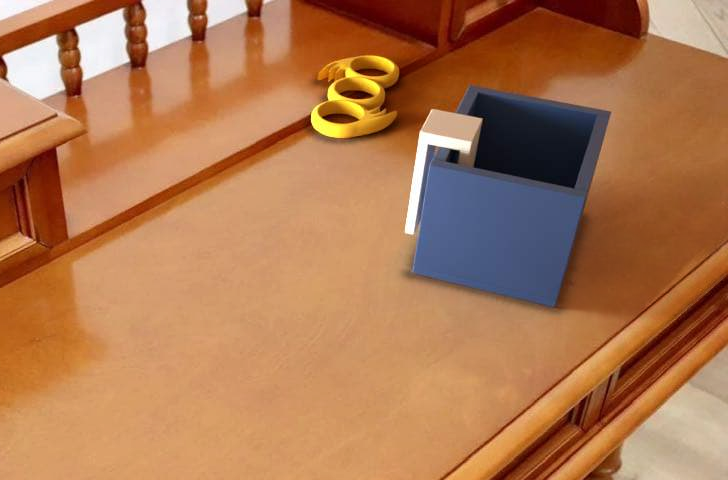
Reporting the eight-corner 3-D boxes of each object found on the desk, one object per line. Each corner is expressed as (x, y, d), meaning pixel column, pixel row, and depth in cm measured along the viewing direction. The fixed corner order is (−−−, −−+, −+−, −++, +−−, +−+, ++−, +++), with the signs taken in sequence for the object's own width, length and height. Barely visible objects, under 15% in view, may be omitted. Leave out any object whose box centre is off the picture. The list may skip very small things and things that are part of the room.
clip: (416, 208, 97) (432, 108, 91) (463, 219, 96) (482, 118, 89) (404, 233, 95) (419, 131, 88) (452, 244, 93) (471, 142, 87)
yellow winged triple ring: (423, 75, 119) (335, 58, 122) (424, 62, 118) (336, 45, 121) (378, 150, 108) (283, 129, 111) (380, 136, 107) (284, 116, 110)
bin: (450, 189, 103) (469, 84, 96) (581, 217, 99) (611, 111, 92) (412, 273, 93) (429, 164, 86) (555, 308, 90) (586, 197, 83)
